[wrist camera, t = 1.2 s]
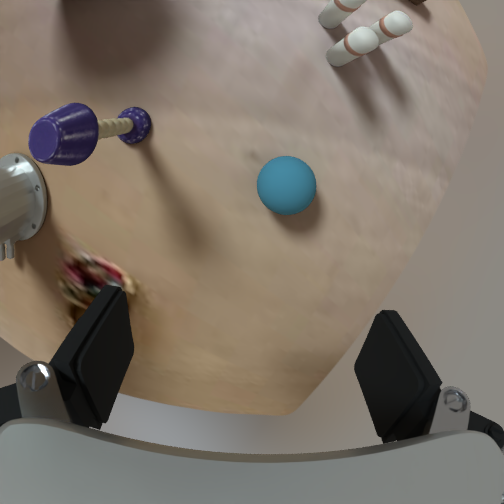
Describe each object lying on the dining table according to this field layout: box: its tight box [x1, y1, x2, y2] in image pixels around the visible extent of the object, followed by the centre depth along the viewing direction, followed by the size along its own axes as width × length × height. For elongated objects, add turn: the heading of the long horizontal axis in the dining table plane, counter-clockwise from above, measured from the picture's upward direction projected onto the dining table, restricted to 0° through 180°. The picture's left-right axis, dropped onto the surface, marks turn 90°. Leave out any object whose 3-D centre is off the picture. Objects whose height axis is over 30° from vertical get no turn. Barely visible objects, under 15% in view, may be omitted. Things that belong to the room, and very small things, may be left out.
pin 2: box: [368, 11, 412, 46], centre depth 20 cm, size 2×2×8 cm
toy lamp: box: [29, 103, 151, 166], centre depth 20 cm, size 5×5×17 cm
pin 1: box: [318, 0, 366, 29], centre depth 20 cm, size 2×2×8 cm
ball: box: [257, 156, 316, 215], centre depth 29 cm, size 6×6×6 cm
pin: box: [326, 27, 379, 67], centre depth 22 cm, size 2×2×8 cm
